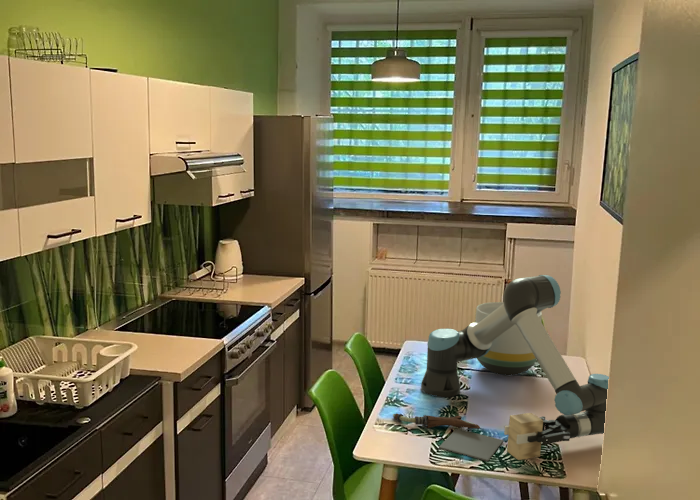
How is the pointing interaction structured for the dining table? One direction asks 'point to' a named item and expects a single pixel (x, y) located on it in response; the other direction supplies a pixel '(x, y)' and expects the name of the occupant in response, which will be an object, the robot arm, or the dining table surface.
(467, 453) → the charcoal mat
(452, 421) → the decorative knife
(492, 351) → the planter
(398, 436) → the dining table surface
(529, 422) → the beech block
